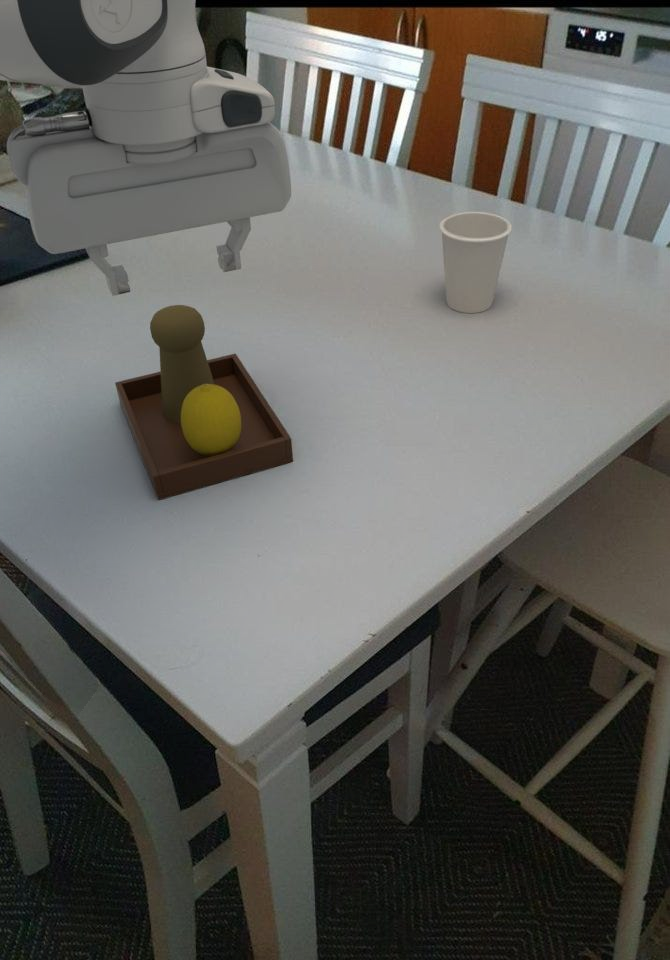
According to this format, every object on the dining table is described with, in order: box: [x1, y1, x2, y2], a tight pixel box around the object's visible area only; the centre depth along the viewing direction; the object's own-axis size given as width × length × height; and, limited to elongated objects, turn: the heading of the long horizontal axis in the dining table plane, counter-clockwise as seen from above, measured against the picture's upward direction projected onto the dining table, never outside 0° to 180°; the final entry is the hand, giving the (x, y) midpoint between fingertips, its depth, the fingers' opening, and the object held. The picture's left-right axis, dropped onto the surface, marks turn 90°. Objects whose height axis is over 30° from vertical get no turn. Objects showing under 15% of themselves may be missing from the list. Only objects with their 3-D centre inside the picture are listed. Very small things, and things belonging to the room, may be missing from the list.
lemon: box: [181, 384, 241, 456], centre depth 75 cm, size 6×6×8 cm
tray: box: [114, 353, 294, 501], centre depth 81 cm, size 13×17×3 cm
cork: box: [149, 304, 215, 424], centre depth 81 cm, size 6×6×11 cm
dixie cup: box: [439, 211, 513, 314], centre depth 98 cm, size 8×8×10 cm
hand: (176, 279), depth 67 cm, fingers open, 8 cm apart
